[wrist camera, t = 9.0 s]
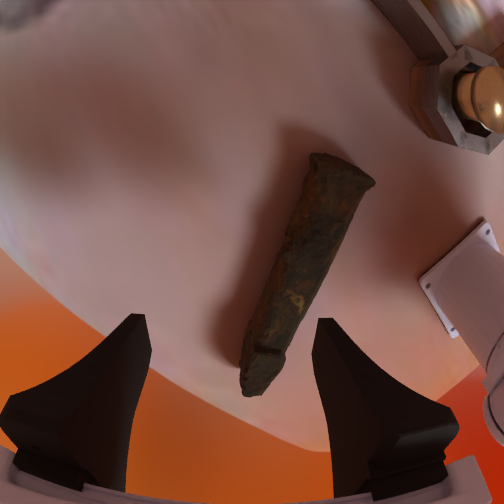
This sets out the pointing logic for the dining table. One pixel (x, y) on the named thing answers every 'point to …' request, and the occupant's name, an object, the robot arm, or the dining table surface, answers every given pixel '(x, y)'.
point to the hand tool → (300, 266)
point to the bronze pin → (480, 97)
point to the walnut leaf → (417, 87)
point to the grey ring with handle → (440, 71)
